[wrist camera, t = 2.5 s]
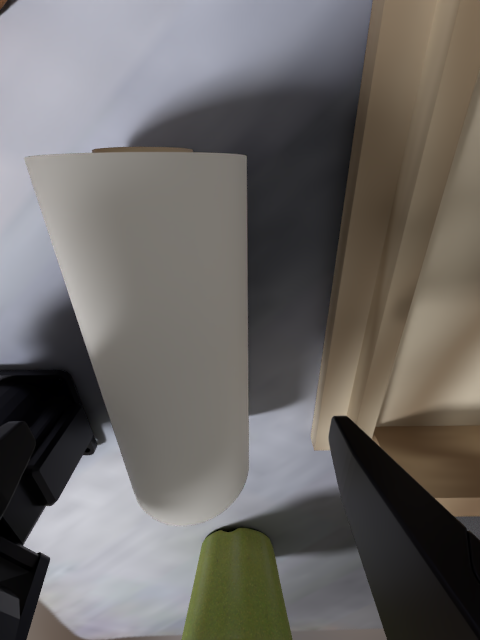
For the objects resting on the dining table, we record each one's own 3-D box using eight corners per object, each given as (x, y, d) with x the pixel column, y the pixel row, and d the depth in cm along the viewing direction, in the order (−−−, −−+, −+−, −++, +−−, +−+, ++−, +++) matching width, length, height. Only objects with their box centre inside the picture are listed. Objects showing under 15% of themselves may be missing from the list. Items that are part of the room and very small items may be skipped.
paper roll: (262, 436, 17) (222, 551, 12) (174, 411, 18) (106, 500, 13) (270, 151, 10) (180, 133, 5) (129, 157, 12) (-39, 149, 7)
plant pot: (215, 501, 21) (201, 685, 14) (314, 534, 24) (349, 708, 16) (165, 553, 25) (133, 720, 17) (254, 577, 27) (260, 735, 20)
